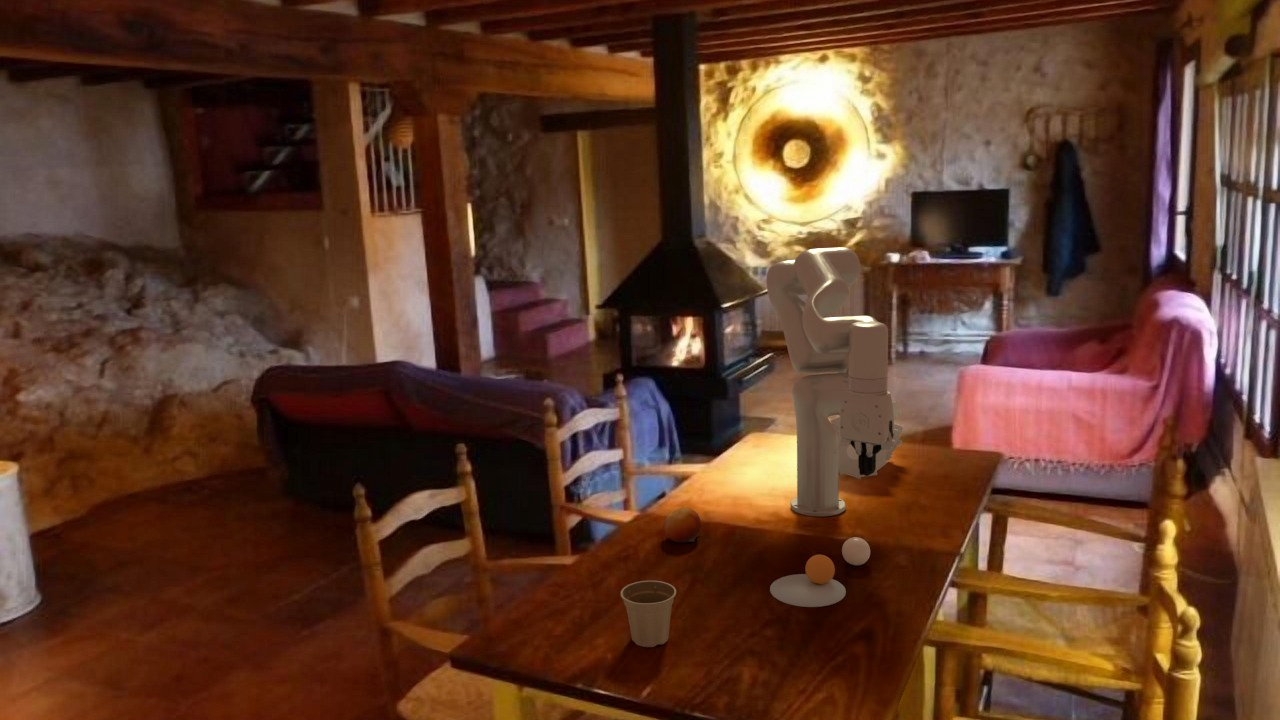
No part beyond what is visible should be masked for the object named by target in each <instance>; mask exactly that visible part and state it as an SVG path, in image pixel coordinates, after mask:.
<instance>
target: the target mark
mask: <svg viewBox="0 0 1280 720" xmlns="http://www.w3.org/2000/svg"><path fill="white" fill-rule="evenodd" d="M769 587H770V588H769V589H770V590H769V592H770V595H772V597H773V598H775V599H777V600H778V601H780V602H781V603H784V604H787V605H790V606H794V607H795V606H796V607H802V608H820V607H826V606H832V605H833V604H836V603H839V602H840V601H842V600H843V599H844V598H845V596H846V594H847V591H846V587H845V586H844V584H842V583H841V582H839V581H838V580H836V579H833V578H832V579H831V580H830V581H829V582H827V583H825V584H816V583H814V582H812V581H811V580H810V579H809V578H808V576H807V574H806V573H801V574H800V573H798V574H791V575H786V576H782V577H779V578H778V579H776V580H774V581H773V582H772V583H771V585H770V586H769Z"/></svg>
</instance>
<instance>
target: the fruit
mask: <svg viewBox="0 0 1280 720" xmlns="http://www.w3.org/2000/svg"><path fill="white" fill-rule="evenodd" d="M701 525H702V524H701V517H700V515H699V513H698V512H697V511H695V510H694V509H693V508H692V507H687V506H686V507H684V506H683V507H679V508H677V509H675V510H673V511H672V512H671V513H669V514H667V516H666V518H665V520H664V524H663V527H664V533H665V536H666V537H667V538H668V539H670V540H671V541H672V542H674V543H676V544H685V543H689V542H693V543H695V541H696V538H697V536H698V537H700V535H699V532H700V529H701Z"/></svg>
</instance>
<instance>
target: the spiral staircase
mask: <svg viewBox="0 0 1280 720" xmlns="http://www.w3.org/2000/svg"><path fill="white" fill-rule="evenodd" d="M892 405H893V413H894V420H896V419H897V418H898V417H900V416H902V415H903V412H902V411H901V408H900V406H899V403H898V402H897V400H895V401H892ZM829 421H830V422H831V424H832V425H833V426H834V427H835V428H836V430H837V432H838V435H839V475H841V476H844V475H848V476H850V477H852V478H856V479H859V480H861V479H862V478H863V477H866V476H865V475H860V473H859V471H860V469H859V468H858V456H859V455H857V454H856V450H855V449H854V448H853V446H852V445H851V444H848V443H846V442H844V441H843V440H842V437H841V436H840V432H839V425H840V415H838V416H837V417H834V418H832V419H830V420H829ZM903 428H904V425H901V424H898V423H896V422H894V437H893V439H892V442H893V448H891V449H889V450H881V451H879V452H878V454H876V469H875V471H874V473H872V474H870V475H868V476H867V477H873V476H878V471H879V470H880V469H881V468H882V467H884V466H885V465H886V464H887V463H889V461H890V459H892V457H893V453H894V452H895V451H896V450H897V449H898V447H899V446H900V445H901V444H902V443H903V441H902V440H901V439H900V438H901V435H902V432H903ZM867 446H868V443H867Z"/></svg>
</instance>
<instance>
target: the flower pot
mask: <svg viewBox="0 0 1280 720" xmlns="http://www.w3.org/2000/svg"><path fill="white" fill-rule="evenodd" d="M676 595H677V589H676V587H675V586H673V585H672V584H670V583H668V582H665V581H660V580H641V581H635V582H633V583H629V584H627V585H625V586H624V587H622V589H621V590H620V598H621V599H622V601H623V604H624V606H625V607H626V608H625V609H626V614H627V618H628V623H629V629H630V635H631V640H632V642H634V644H635V645H637V646H639V647H643V648H655V647H656V646H658V645H660V646H661V645H664V644H666V642H667V641H668V640H669V634H670V625H671V616H672V605H673V604H674V599H675V597H676Z"/></svg>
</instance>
